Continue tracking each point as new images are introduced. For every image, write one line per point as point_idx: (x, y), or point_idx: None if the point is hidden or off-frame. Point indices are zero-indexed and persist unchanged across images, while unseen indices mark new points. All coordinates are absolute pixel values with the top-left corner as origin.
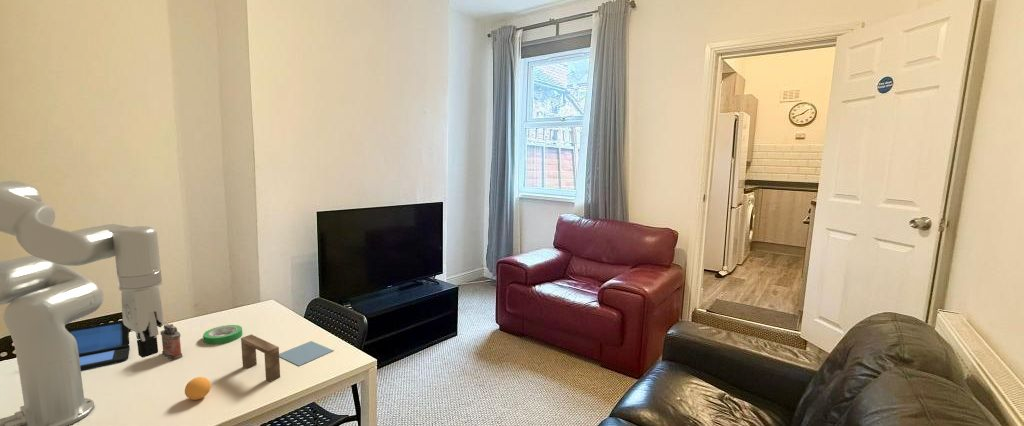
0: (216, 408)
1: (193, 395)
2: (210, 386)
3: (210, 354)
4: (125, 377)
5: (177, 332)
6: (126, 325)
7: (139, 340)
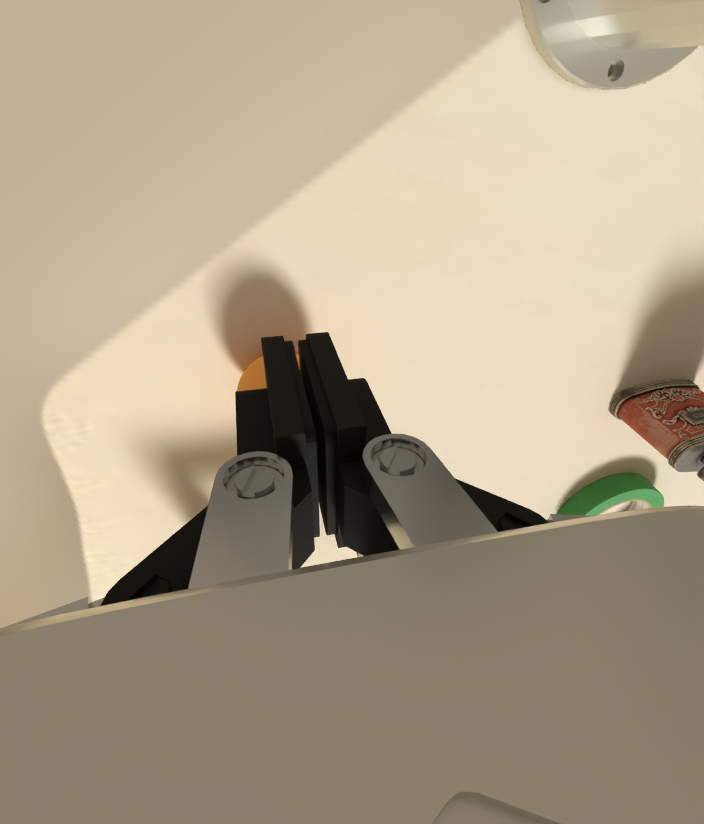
0: (144, 390)
1: (245, 370)
2: None
3: (540, 467)
4: (671, 253)
5: (700, 467)
6: (593, 552)
7: (337, 442)
